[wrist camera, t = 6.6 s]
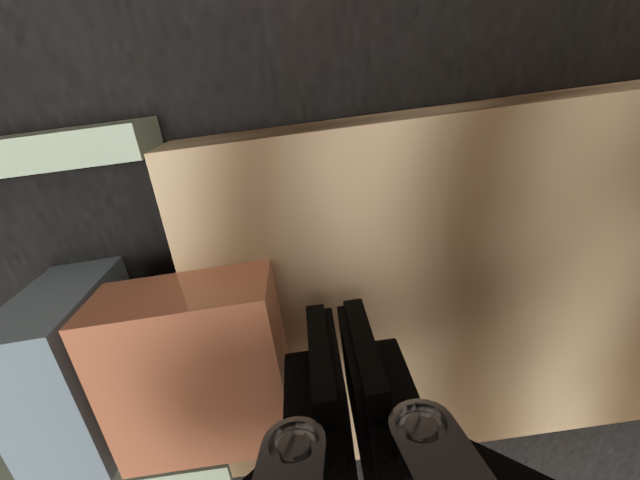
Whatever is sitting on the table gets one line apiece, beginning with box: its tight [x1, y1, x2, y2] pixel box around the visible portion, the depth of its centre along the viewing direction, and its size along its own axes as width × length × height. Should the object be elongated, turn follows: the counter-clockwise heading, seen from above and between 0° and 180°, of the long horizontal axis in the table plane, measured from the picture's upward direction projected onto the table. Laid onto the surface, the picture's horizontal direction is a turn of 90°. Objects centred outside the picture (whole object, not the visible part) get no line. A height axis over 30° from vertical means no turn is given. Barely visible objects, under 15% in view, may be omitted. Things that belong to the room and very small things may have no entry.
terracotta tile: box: [58, 259, 289, 479], centre depth 12 cm, size 5×5×2 cm
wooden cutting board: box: [144, 79, 640, 478], centre depth 15 cm, size 19×12×2 cm, turn 97°
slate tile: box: [0, 256, 130, 480], centre depth 13 cm, size 5×5×2 cm
